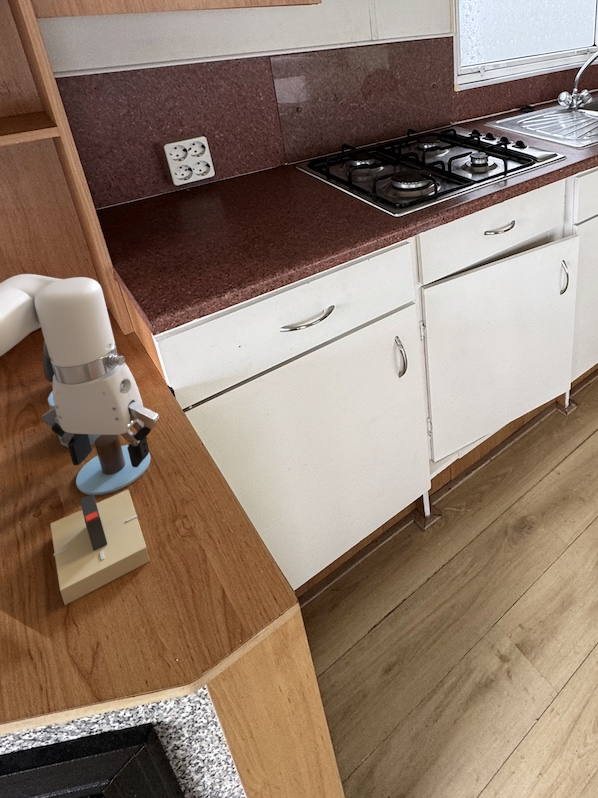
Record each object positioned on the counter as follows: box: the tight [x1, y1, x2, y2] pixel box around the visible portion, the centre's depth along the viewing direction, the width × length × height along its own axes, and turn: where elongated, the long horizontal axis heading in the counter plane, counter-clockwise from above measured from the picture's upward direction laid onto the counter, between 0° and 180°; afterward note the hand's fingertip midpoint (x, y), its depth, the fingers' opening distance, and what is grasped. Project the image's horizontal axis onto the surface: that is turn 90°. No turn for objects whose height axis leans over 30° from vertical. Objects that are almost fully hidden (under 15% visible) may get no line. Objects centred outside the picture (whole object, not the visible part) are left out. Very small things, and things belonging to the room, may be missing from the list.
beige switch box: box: [50, 489, 151, 606], centre depth 76 cm, size 12×9×3 cm
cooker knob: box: [79, 494, 107, 551], centre depth 75 cm, size 5×2×5 cm, turn 42°
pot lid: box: [75, 434, 151, 496], centre depth 88 cm, size 10×10×7 cm
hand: (111, 459), depth 88 cm, fingers open, 8 cm apart
